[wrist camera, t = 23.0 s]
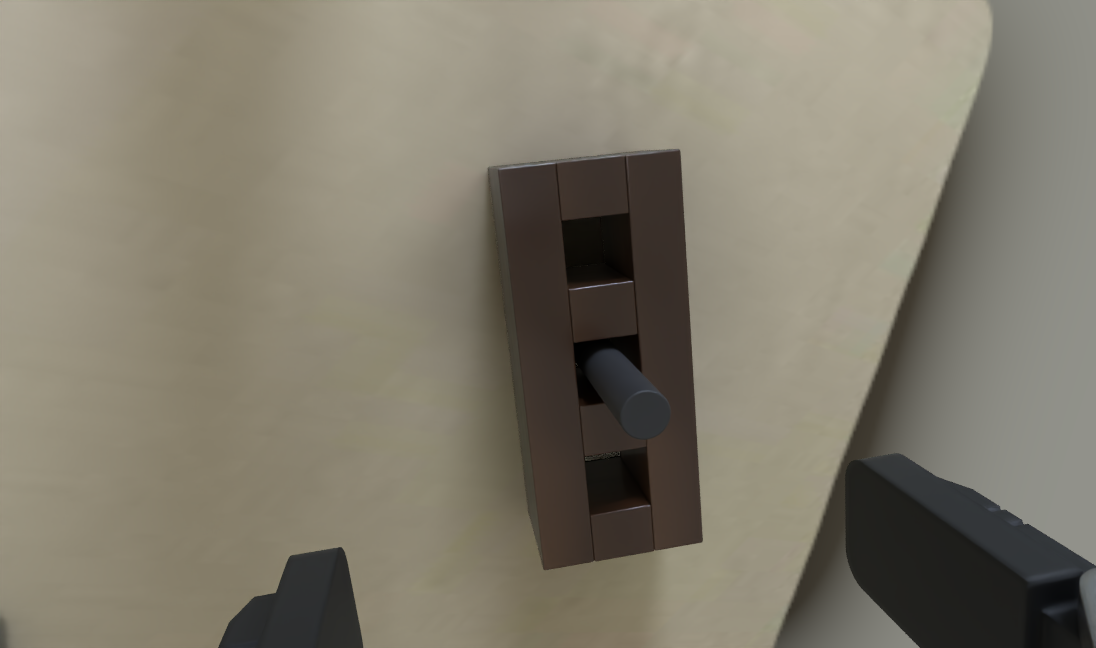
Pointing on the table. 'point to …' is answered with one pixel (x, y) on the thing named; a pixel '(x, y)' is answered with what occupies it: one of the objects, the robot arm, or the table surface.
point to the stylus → (623, 389)
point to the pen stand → (592, 314)
